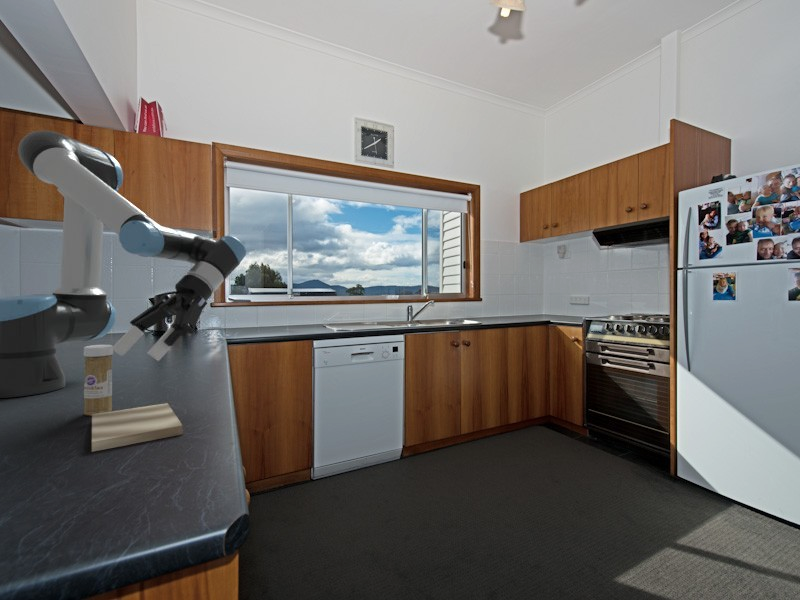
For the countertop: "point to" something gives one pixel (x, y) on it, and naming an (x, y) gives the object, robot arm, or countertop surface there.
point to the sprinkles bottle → (98, 379)
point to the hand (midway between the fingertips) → (134, 354)
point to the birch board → (133, 426)
